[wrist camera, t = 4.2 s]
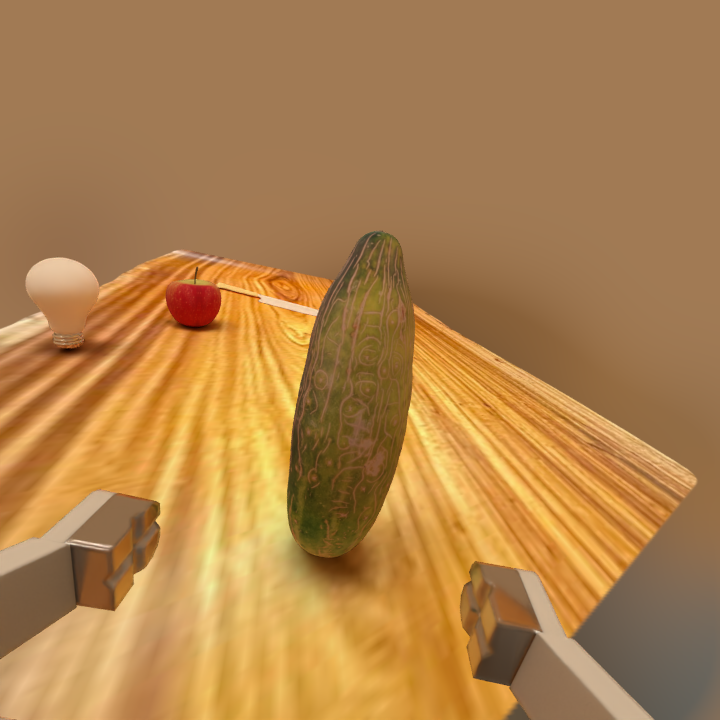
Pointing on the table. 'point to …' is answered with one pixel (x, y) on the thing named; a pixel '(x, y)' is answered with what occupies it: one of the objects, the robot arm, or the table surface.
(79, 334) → the light bulb
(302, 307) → the knife
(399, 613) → the table surface
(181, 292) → the apple
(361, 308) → the vegetable
